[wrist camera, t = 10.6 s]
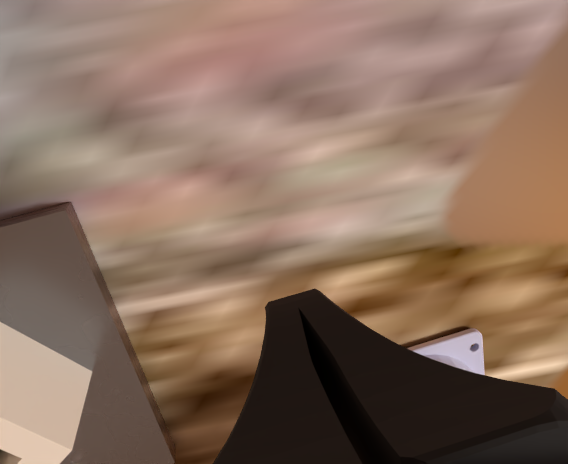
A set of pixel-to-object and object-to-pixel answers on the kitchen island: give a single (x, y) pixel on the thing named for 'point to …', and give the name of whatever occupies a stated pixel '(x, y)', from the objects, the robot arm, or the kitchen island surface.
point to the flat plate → (80, 335)
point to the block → (38, 400)
